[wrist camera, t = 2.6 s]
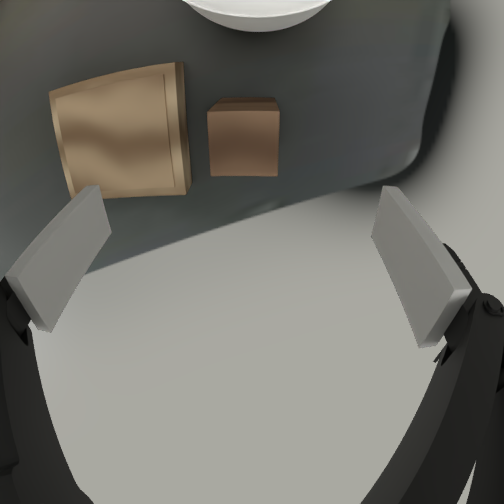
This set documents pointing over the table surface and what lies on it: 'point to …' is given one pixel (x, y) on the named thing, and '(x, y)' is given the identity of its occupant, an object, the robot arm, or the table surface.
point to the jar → (257, 13)
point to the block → (244, 137)
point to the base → (125, 132)
